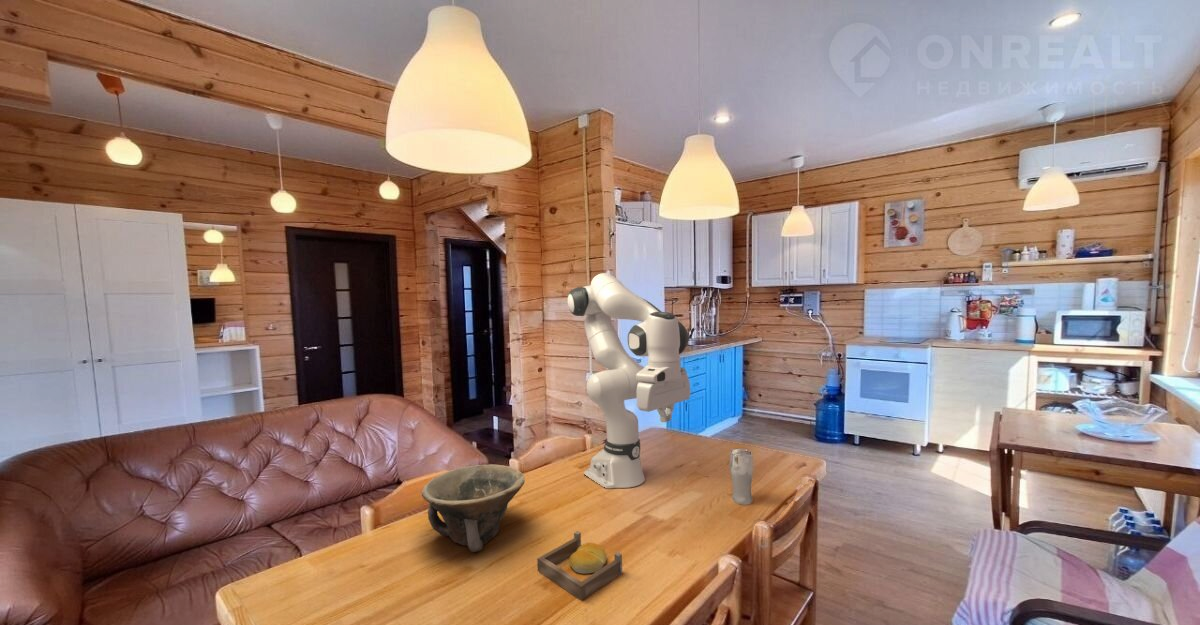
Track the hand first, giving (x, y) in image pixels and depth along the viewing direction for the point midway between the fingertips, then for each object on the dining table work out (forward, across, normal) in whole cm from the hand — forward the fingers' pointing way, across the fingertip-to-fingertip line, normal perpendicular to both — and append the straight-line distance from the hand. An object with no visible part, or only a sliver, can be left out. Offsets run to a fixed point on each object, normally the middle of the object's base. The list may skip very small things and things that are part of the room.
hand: (665, 421), depth 121 cm
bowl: (+29, +38, -37) cm, 61 cm away
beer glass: (+29, -27, +8) cm, 41 cm away
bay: (+29, +31, -3) cm, 42 cm away
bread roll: (+30, +27, -4) cm, 40 cm away
